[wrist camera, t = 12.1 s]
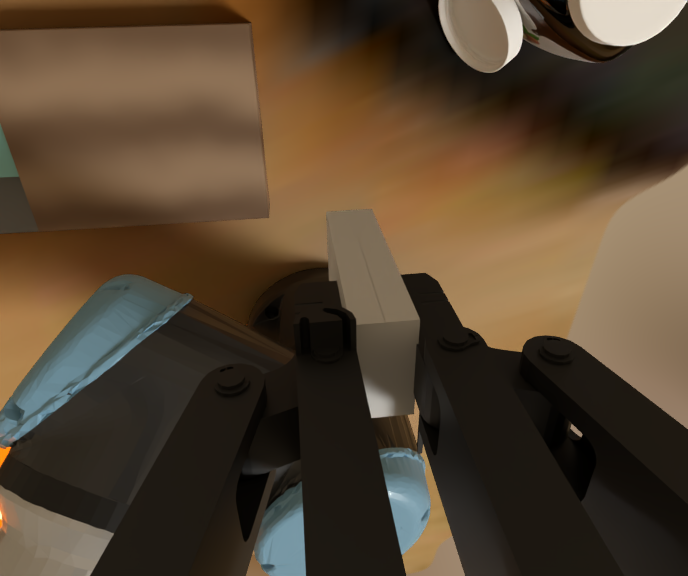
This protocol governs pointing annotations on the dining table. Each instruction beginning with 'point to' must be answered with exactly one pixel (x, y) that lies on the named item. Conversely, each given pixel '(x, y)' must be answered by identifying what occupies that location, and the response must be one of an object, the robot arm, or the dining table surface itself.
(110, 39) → the brown flat block
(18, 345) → the dining table surface
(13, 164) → the card
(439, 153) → the dining table surface
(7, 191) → the mat
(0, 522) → the orange juice
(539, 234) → the dining table surface
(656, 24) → the spread jar
